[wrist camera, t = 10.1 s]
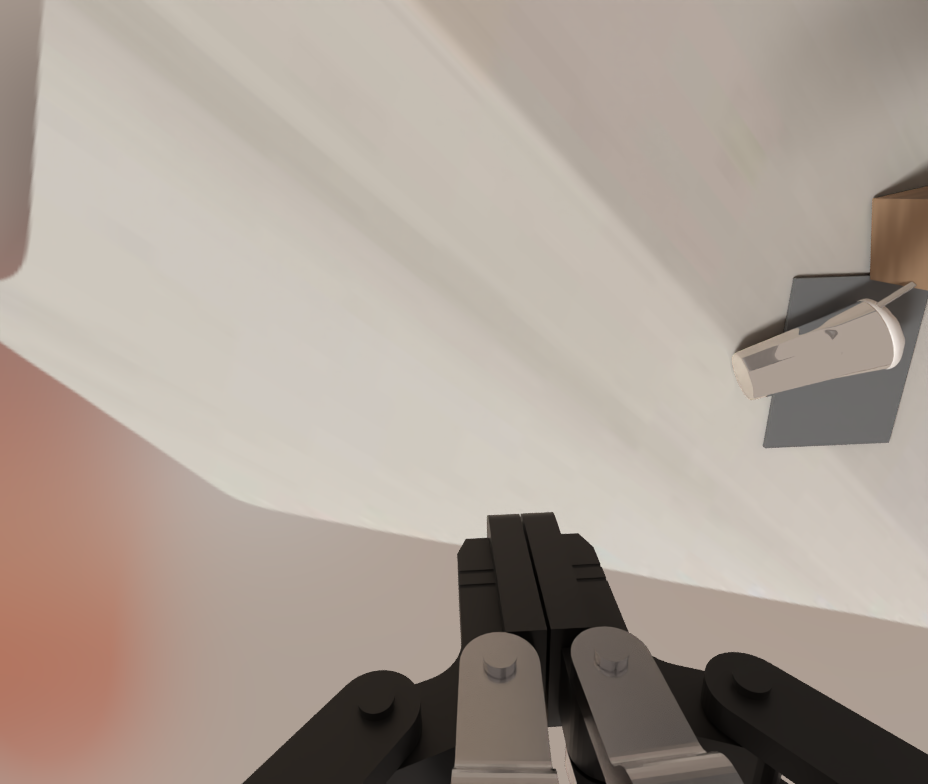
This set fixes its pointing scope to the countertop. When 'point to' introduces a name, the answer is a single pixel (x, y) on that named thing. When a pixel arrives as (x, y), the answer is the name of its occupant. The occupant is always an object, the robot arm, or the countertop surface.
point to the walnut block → (900, 238)
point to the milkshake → (824, 349)
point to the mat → (850, 399)
